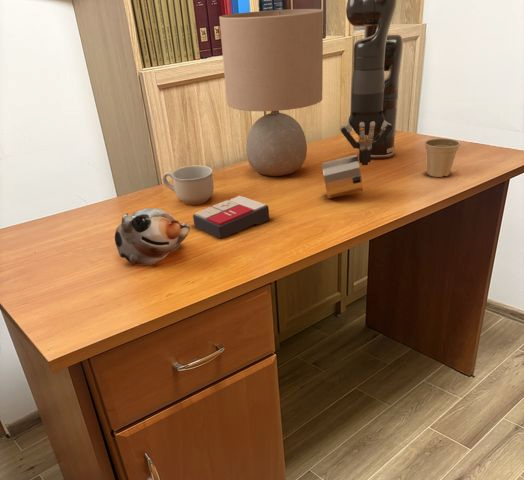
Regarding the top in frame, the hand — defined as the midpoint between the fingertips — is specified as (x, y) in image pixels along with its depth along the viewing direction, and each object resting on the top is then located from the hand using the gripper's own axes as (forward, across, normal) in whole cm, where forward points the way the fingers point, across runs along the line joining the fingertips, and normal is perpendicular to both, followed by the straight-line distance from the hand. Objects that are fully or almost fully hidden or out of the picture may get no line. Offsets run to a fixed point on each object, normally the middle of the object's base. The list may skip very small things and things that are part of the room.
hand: (364, 164), depth 136 cm
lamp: (+8, +23, -25) cm, 35 cm away
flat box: (+8, +33, +16) cm, 38 cm away
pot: (+7, +5, 0) cm, 9 cm away
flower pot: (+9, -23, -16) cm, 29 cm away
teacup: (+8, +46, -2) cm, 47 cm away
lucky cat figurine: (+8, +48, +33) cm, 59 cm away
